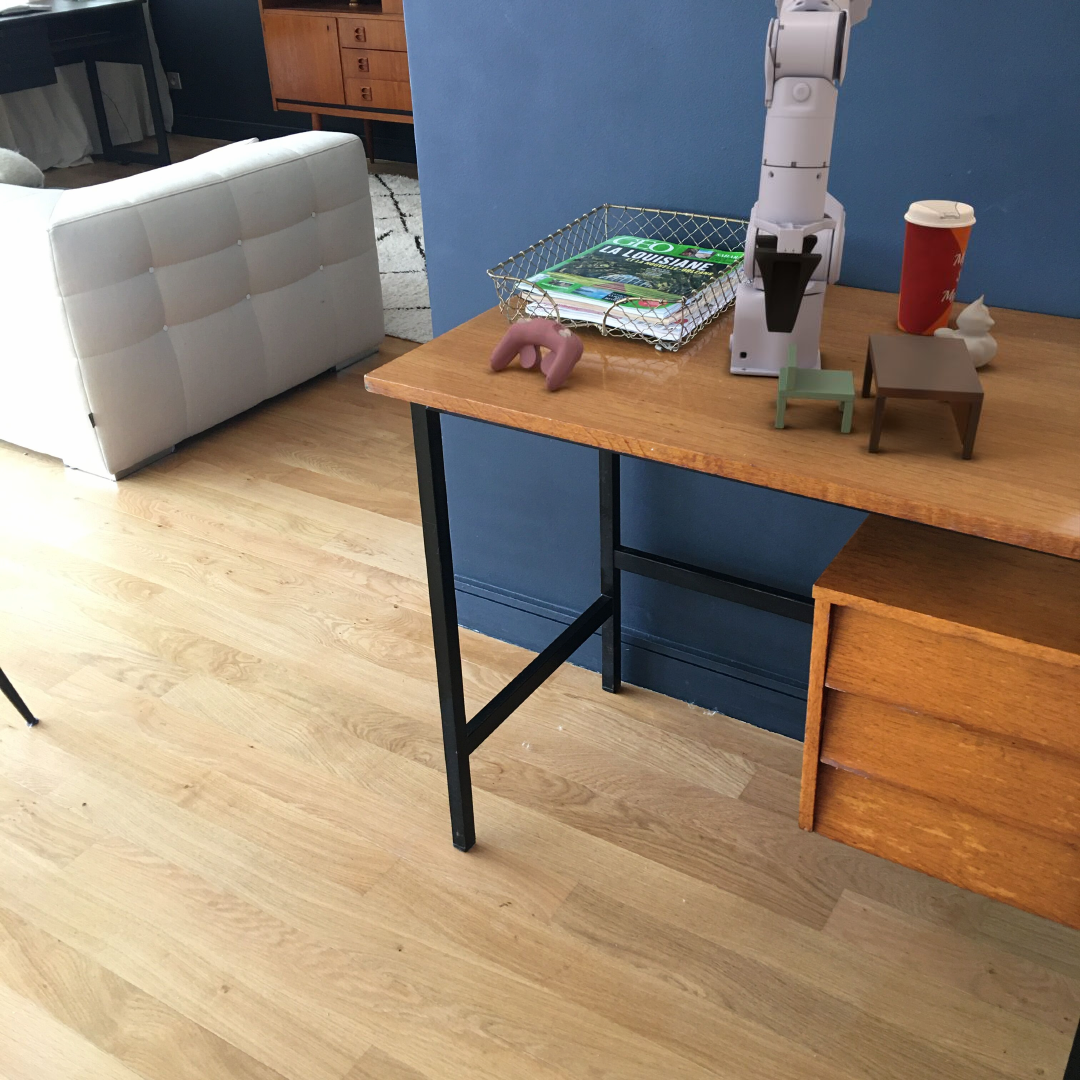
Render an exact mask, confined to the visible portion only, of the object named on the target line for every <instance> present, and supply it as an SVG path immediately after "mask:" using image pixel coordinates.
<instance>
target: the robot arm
mask: <svg viewBox="0 0 1080 1080" xmlns="http://www.w3.org/2000/svg"><path fill="white" fill-rule="evenodd" d="M774 6H775V7H776V8H777V9H776V17H777V18H776V19H774V17H771V18H770V21H769V24H768V29H767V35H766V41H765V42H766V43H765V55H764V77H765V96H764V107H765V108H766V109H767V110H766V111H767V112H766V115H765V125H764V136H763V145H762V146H763V147H762V155H761V156H762V157H761V167H760V168H761V169H760V178H759V179H760V180H759V190H758V200H757V201H756V202H754V205H753V207H752V208H751V211H750V217H749V223H748V225H747V231H746V235H745V243H744V253H743V274H744V276H745V277H746V278H747V280H749V281H753V282H738V283H737V287H736V295H735V304H734V305H735V306H734V318H733V330H732V331H733V333H730V336H729V346H728V347H729V349H728V350H729V351H730V352H731V356H730V357H731V358H730V368H729V369H730V371H729V372H730V374H733V375H745V376H746V375H747V376H748V375H749V376H761V377H762V376H766V377H779V371H780V367H786V364H787V354H788V345H789V344H791V345H797V368H804V369H822V367H821V365H822V362H821V351H820V349H819V346H820V338H821V330H822V320H823V312H824V305H825V303H824V302H825V295H826V293H827V286H828V285H829V286H833V285H835V283H837V282H838V281H839V280H840V274H841V267H842V266H841V265H842V259H843V251H844V244H845V243H844V241H845V234H846V233H845V232H846V227H845V223H846V215H847V214H846V211H845V210H844V209H845V208H844V205H843V204H842V203H841V202H839V201H838V200H837V199H836V198H835V197H834V196H832V194H830V193H829V192H828V191H827V190H828V180H829V173H830V163H831V154H832V146H833V145H832V144H833V138H834V137H833V135H834V127H835V120H836V112H837V103H838V102H837V101H838V94H839V90H838V88H837V87H836V86H835V85H836V81H837V82H838V83H839V84H838V85H839V87H842V84H843V81H844V78H845V75H846V69H847V62H848V55H849V54H848V53H849V47H850V46H849V45H850V37H851V27H853V26H855V25H857V24H859V23H861V22H862V21H864V20H866V19H867V18H868V10H869V8H870V7H871V6H872V0H774Z"/></svg>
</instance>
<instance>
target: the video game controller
mask: <svg viewBox="0 0 1080 1080" xmlns="http://www.w3.org/2000/svg"><path fill="white" fill-rule="evenodd" d="M541 347H543V348H545V349H548V350H549V352H548V353H547V354H545V355H544V357H542V351H541ZM583 353H584V341H583V340H582V339H581V337H580V336H579V335H577V334H575V333H574V332H573V331H572V330H571V329H570V328H568V326H566V325H564V324H563V323H561V322H558V321H556V320H553V319H548V318H544V317H534V318H533V317H527V318H523V317H519V318H518V319H517V321H516V322H513V323H512V324H511V325H510V326H509V328H508V329H507V330H506V332H505V334H504V335H503V337H502V339H500V341H499V343H497V345H496V347H495V348H494V349H493V351H492V353H491V355H490V358H489V366H490V369H491V370H492V371H494V372H498V371H501V370H503V369H505V368H506V367H507V366H508V365H509V364H510V363H512V361H513V360H514V359H515V358H516V357H517V356H519V363H520V365H521V366H522V368H524V369H528V370H537V369H538V368H539V367H540V370H541V372H542V373H543V374H544V375H546V376H545V377H546V378H545V386H546V388H547V389H548V390H550V391H554V390H557V389H559V388H560V387H561V386H563V384H565V382H566V381H568V379H569V377H570V375H571V374H572V373H573V370H574V368H575V366H576V364H577V363H578V362H579V361H580V360H581V358H582V356H583Z"/></svg>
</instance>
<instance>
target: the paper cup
mask: <svg viewBox="0 0 1080 1080" xmlns="http://www.w3.org/2000/svg"><path fill="white" fill-rule="evenodd" d="M903 217H904V220H905V221H906V222H905V223H906V224H905V235H904V244H903V253H902V254H903V255H902V267H901V277H900V288H899V296H898V297H899V298H898V300H899V301H898V309H897V328H898V329H900V330H901V331H903V332H906V333H910V334H915V335H922V336H932V335H933V336H934V332H935V331H936V330H937V329H939V328H948V324H949V321H950V317H951V313H952V310H953V305H954V302H955V297H956V293H957V290H958V285H959V281H960V277H961V272H962V269H963V266H964V265H963V264H964V260H965V256H966V252H967V247H968V244H969V239H970V236H971V231H972V227H973V226H974V224H976V222H977V219H976V217H975V210H974V207H973V206H971V205H969V204H967V203H963V202H958V201H952V200H942V199H941V200H940V199H928V200H919V201H914V202H912V203H911V204H910V205H909V208H908V210H907V212H905V214H904V216H903Z"/></svg>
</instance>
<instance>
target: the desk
mask: <svg viewBox="0 0 1080 1080" xmlns="http://www.w3.org/2000/svg"><path fill="white" fill-rule="evenodd" d="M868 337H869V338H868V344H867V349H866V357H865V364H864V371H863V377H862V378H863V379H862V386H861V392H860V397H861V398H870V396H871V389H872V384H873V383H872V382H874V387H875V393H876V394H875V401H874V408H873V413H872V420H871V427H870V433H869V440H868V446H867V450H868V453H872V454H878V452H879V445H880V439H881V432H882V426H883V420H884V414H885V406H886V400H887V398H891V399H907V400H923V401H937V402H939V401H940V402H946V403H949V407H950V410H951V414H952V417H953V421H954V424H955V426H956V427H955V428H956V430H957V433H958V437H959V440H960V443H961V446H962V448H961V453H960V456H961V459H962V460H972V458H973V453H974V448H975V443H976V437H977V433H978V427H979V424H980V423H979V422H980V418H981V413H982V408H983V402H984V398H985V391H984V388H983V386H982V383H981V381H980V378H979V375H978V373H977V370H976V368H975V367H974V364H973V362H972V359H971V356H970V354H969V351H968V348H967V346H966V343H965V340H964V339H961V338H941V337H934V336H923V335H922V336H919V335H899V334H881V333H880V334H879V333H869V335H868ZM873 380H874V381H873Z"/></svg>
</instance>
